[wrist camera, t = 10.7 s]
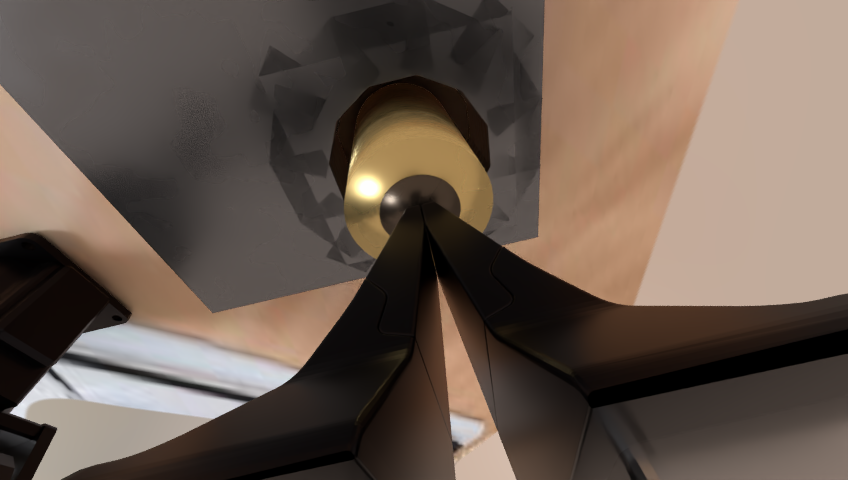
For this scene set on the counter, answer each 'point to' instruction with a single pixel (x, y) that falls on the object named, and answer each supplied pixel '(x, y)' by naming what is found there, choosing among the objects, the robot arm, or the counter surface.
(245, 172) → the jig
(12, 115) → the counter surface
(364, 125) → the bushing
